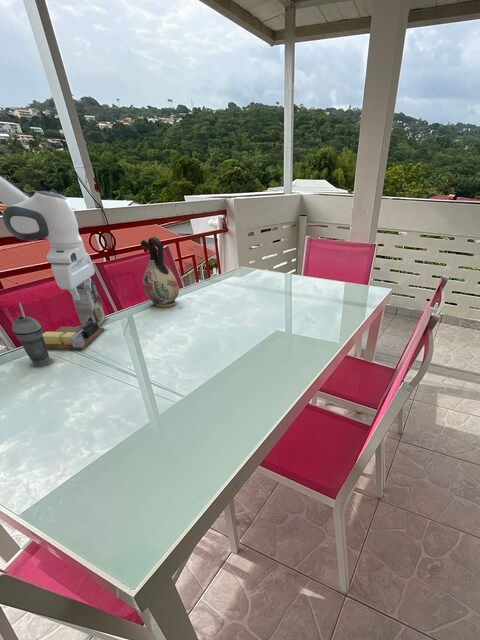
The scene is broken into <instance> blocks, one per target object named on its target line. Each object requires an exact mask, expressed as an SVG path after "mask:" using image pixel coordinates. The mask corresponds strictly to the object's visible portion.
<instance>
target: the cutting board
mask: <svg viewBox="0 0 480 640" xmlns="http://www.w3.org/2000/svg"><path fill="white" fill-rule="evenodd" d="M98 327H99V329H98V330H97V331H95V332H94V333H93V334H92V335H91V336H90V337H89V338H85V339H84V340H82V341H81V342H80V343H79V344H78V345H77V346H76V347H73V345H65V344H64V342H63V343H62V344H46V347H47V351H84V350H85V349H86V348H87V347H89V345H90V344H91V343H92V342H94V340H96V339H97V338H98V337H99V336H100V335H101V334H102V333H103V332H104V331H105V328H104V327H103V326H102V327H101V326H98ZM84 328H85V327H82V326H60V327H58V328H57V329H55V330H54V331H53V332H64V334H65V333H67V332H76V334H77V333H78V332H79V331H81V330H82V329H84Z"/></svg>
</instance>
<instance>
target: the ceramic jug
mask: <svg viewBox="0 0 480 640" xmlns="http://www.w3.org/2000/svg"><path fill="white" fill-rule="evenodd" d="M140 247H142V248H143V249H146V250H147V251H148V253H149V261H148V263H147V265H146V267H145V271H144V274H143V279H142V284H143V285H142V288H143V292H144V294H145V296H146V297H147V298H148V299H149V300H150V301H151V302H152V303H153V304H154V305H155V306H156V307H159V308H168V307H172V306H174V305H175V304H176V299H177V298H178V296H179V293H180V288H179V284H178V283H179V282H178V280H177V278H176V276H175V275H174V273H173V272H172V271H171V269H170V268H169V267H168V266H167V265H166V264H165V256H164V253H165V252H164V246H163V243H162V242H161V240H160V239H159V238H158V237H156V236H151V237H149V238H148V241H147V240H145V239H142V240H141V242H140Z"/></svg>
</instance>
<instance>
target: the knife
mask: <svg viewBox="0 0 480 640" xmlns="http://www.w3.org/2000/svg"><path fill="white" fill-rule="evenodd" d="M99 327H100V326H98V323H94V322H91V323H90V324H88V325H87V326H86V327H85V328H84V329H82V330H81V331H79V332H78V333H77V334H76V335H75V336H73V337H72V338H71V341H72V344H73V347H76V346H77V345H78V344H79V343H80V342H81V341H82V340H84V339H85V338H89V337H90V336H91V335H92V334H93V333H94V332H95V331H97V330H98V329H99Z"/></svg>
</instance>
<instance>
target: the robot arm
mask: <svg viewBox="0 0 480 640" xmlns="http://www.w3.org/2000/svg"><path fill="white" fill-rule="evenodd" d="M0 202H1V203H2V204H4V205H5V206H6V208H4V210H3V212H2V217H1V218H2V222H3V225H4V226H5V228H6V230H7V231H8V232H9V233H10V234H11V235H12V236H14V237H15V238H17V239H19V240H22V241H26V242H27V241H28V242H35V241H37V240H41V239H42V240H43V239H46V240H48V241H49V245H50V247H49V250H48V253H47V254H46V261H47V263H48V264H50V268H51V272H52V275H53V277H54V280H55V282H56V285H57V286H58V288H59V289H60V290H62V291H63V290H64V291H65V290H66V291H68V293H69V294H70V293H71V294H70V296H71V295H72V296H73V299H74V300H80V299H81V297H80V294H78V292H77V287H76V286H78V285H79V284H81V283H82V282H84V285H85V286H84V289H85V291H86V292H90V291H91V290H92V288H91V281H92V278H91V277H92V276H94V275H95V274H96V273H95V267H94V265H93V262H92V258H91V256H90V255H89V253H88V252H87V251H86V248H85V244H84V241H83V239H82V237H81V235H80V232H79V224H78V220H77V216H76V214H75V212H74V208H73V206H72V204H71V203H70V200H69V199H68V198H67V197H66V196H64V195H63V194H61V193H57V192H54V191H46V190H38V191H36V192H35V193H34V194H33V195H32V196H30V195H28V194H27V193H25V192H23V191H22V190H21V189H20V188H18V187H16V186H15V185H14V184H12V183H11V182H10V181H9V180H7V179H6V178H5V177H3V176H2V175H0Z"/></svg>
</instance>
